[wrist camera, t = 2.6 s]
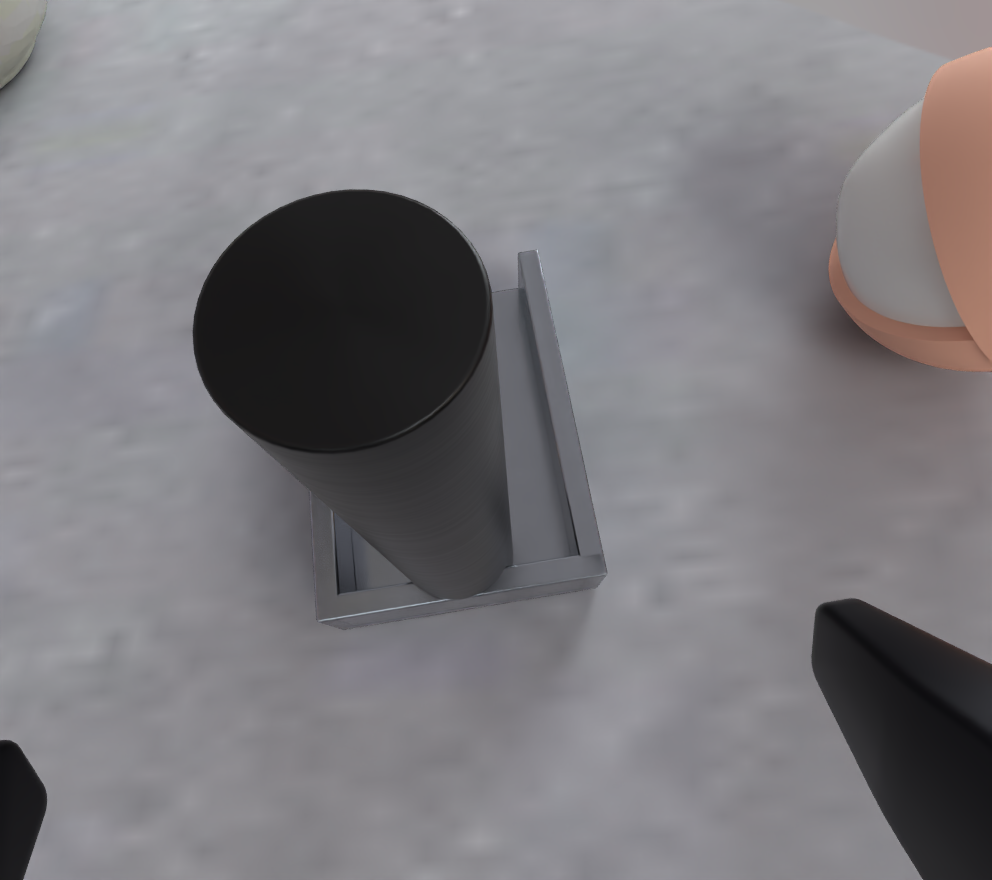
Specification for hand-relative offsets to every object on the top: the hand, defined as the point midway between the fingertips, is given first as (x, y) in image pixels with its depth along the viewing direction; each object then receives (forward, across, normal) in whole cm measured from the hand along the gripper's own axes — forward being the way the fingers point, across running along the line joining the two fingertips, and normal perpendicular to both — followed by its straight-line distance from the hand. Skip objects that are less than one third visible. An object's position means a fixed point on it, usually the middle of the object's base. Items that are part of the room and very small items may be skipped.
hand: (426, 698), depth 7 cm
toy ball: (+14, -15, +1) cm, 20 cm away
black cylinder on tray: (+12, 0, +3) cm, 12 cm away
